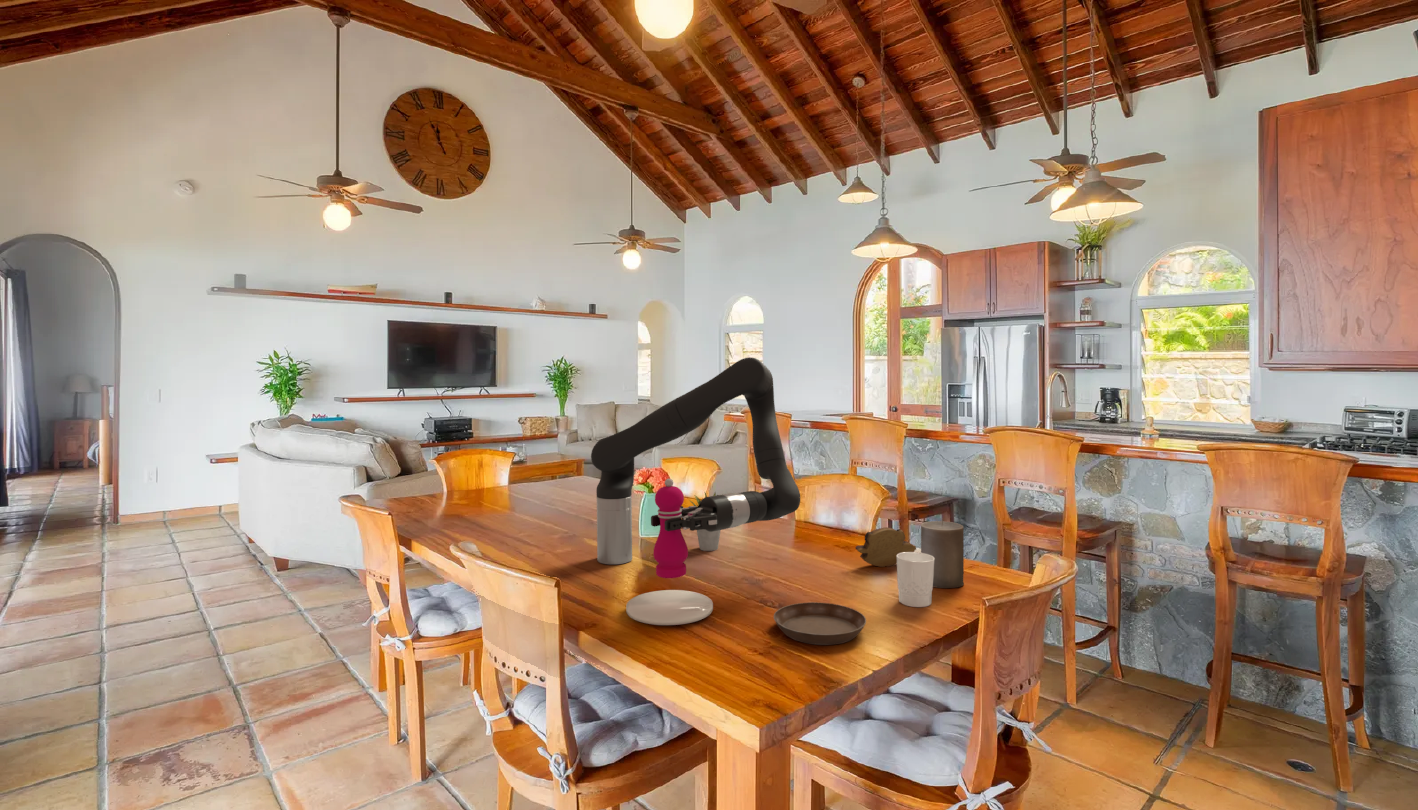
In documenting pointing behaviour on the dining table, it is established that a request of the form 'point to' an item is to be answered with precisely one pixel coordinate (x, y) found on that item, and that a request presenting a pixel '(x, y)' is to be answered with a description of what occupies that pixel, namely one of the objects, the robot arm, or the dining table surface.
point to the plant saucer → (819, 622)
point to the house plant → (707, 535)
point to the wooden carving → (884, 546)
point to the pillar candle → (944, 551)
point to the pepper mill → (670, 534)
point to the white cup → (915, 578)
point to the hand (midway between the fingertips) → (659, 523)
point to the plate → (669, 607)
